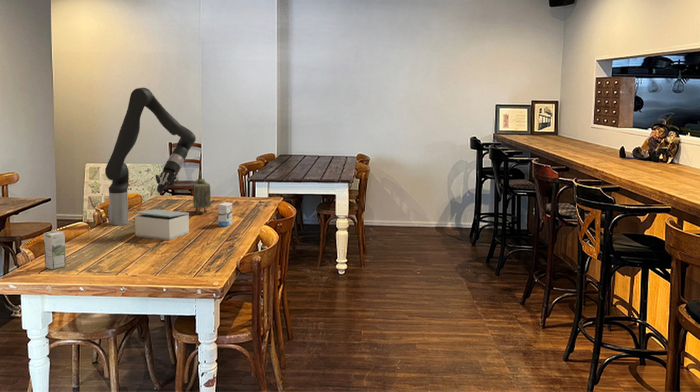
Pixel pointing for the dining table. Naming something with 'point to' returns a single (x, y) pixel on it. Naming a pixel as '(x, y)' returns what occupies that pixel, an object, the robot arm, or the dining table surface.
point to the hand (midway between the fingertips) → (159, 191)
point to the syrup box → (54, 249)
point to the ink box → (225, 214)
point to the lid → (161, 213)
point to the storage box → (161, 226)
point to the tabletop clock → (201, 194)
